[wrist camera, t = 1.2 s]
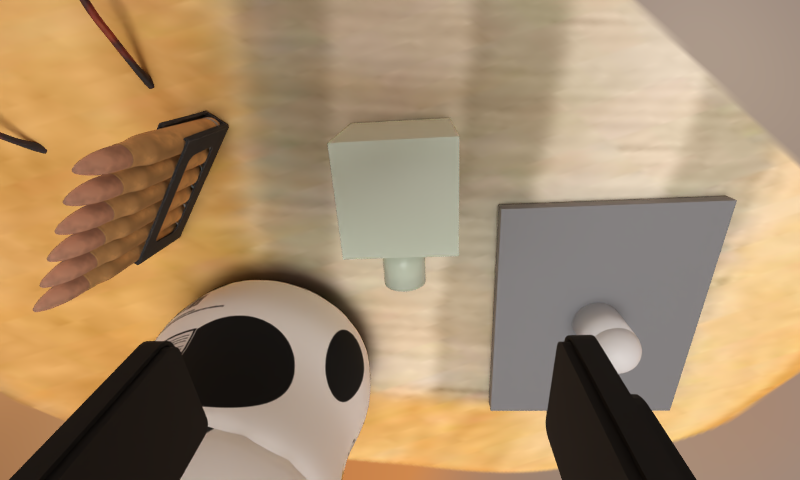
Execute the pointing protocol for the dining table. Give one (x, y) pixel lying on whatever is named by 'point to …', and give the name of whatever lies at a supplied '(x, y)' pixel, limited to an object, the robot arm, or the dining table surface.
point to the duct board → (601, 290)
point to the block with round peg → (397, 194)
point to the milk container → (272, 382)
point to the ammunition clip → (131, 203)
